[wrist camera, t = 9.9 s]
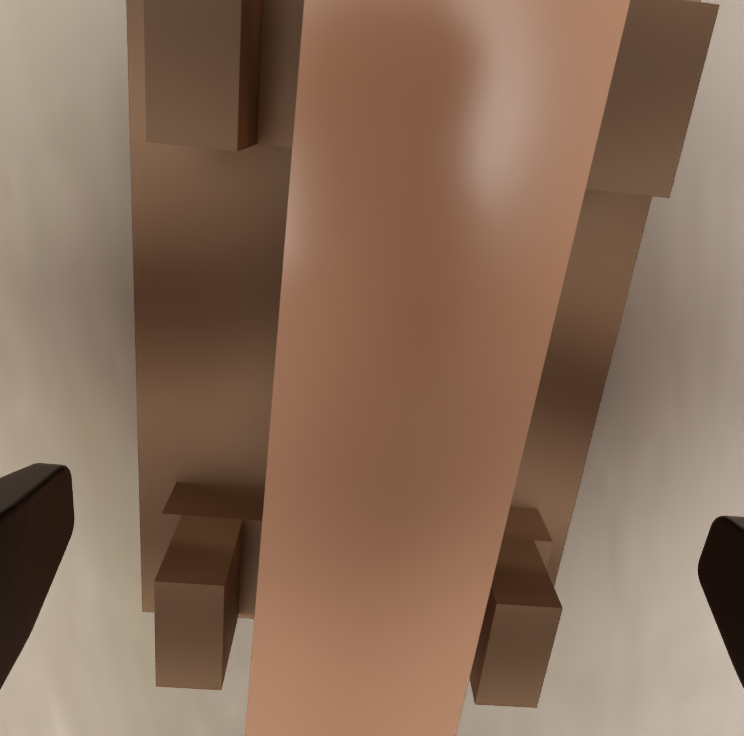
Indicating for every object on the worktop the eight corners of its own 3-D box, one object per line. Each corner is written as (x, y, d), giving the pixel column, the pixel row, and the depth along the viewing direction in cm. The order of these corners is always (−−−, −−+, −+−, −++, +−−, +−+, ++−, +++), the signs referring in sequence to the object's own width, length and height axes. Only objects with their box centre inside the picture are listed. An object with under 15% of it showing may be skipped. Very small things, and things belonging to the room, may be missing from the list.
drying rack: (533, 613, 21) (584, 755, 17) (152, 589, 20) (92, 730, 16) (688, -31, 15) (843, -95, 10) (138, -102, 14) (31, -206, 9)
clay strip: (414, 641, 18) (434, 823, 14) (268, 629, 18) (238, 811, 13) (540, -17, 13) (651, -90, 8) (330, -50, 12) (316, -145, 8)
